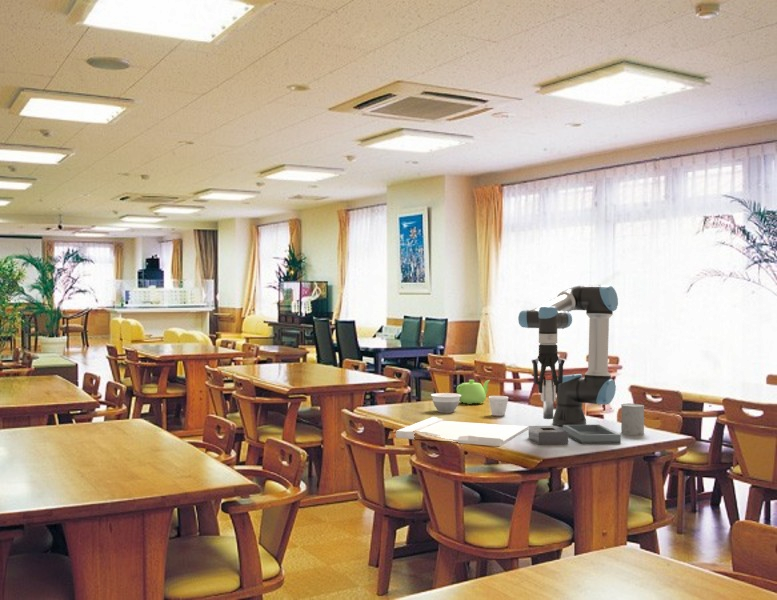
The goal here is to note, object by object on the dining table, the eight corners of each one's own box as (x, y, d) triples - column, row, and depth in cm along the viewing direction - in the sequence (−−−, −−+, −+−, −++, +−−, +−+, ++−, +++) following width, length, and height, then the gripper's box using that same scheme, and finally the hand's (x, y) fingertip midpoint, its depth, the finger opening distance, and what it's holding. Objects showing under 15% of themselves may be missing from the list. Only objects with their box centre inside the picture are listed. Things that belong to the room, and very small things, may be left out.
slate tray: (562, 432, 346) (562, 424, 346) (598, 432, 348) (598, 424, 347) (581, 443, 320) (581, 435, 320) (620, 443, 322) (620, 434, 322)
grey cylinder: (645, 435, 340) (645, 406, 340) (622, 434, 342) (622, 406, 342) (642, 431, 349) (642, 403, 349) (620, 431, 351) (620, 403, 351)
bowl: (467, 411, 411) (467, 395, 411) (445, 414, 401) (445, 397, 401) (446, 408, 423) (446, 392, 423) (424, 411, 413) (424, 394, 413)
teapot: (483, 400, 456) (483, 377, 456) (497, 403, 442) (497, 380, 442) (449, 402, 447) (449, 379, 447) (462, 406, 433) (462, 381, 433)
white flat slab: (528, 430, 356) (528, 422, 356) (500, 447, 315) (500, 438, 315) (434, 424, 375) (434, 416, 375) (396, 439, 334) (396, 430, 334)
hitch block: (528, 437, 334) (528, 425, 334) (556, 437, 335) (556, 425, 335) (538, 444, 318) (538, 432, 318) (568, 444, 319) (568, 432, 319)
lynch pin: (542, 417, 328) (542, 375, 328) (551, 417, 329) (551, 375, 329) (544, 419, 324) (544, 376, 324) (554, 419, 325) (554, 376, 325)
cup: (506, 417, 392) (506, 398, 391) (486, 416, 395) (486, 397, 395) (510, 414, 401) (510, 396, 401) (490, 413, 404) (490, 395, 404)
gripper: (529, 344, 322) (530, 402, 322) (571, 344, 323) (571, 401, 323) (525, 343, 329) (525, 400, 330) (565, 343, 331) (565, 399, 331)
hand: (548, 400), depth 327 cm, fingers closed on lynch pin, 4 cm apart
